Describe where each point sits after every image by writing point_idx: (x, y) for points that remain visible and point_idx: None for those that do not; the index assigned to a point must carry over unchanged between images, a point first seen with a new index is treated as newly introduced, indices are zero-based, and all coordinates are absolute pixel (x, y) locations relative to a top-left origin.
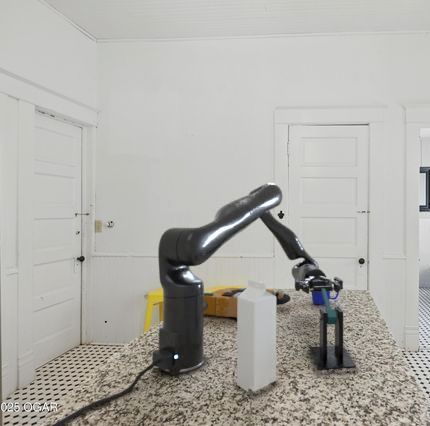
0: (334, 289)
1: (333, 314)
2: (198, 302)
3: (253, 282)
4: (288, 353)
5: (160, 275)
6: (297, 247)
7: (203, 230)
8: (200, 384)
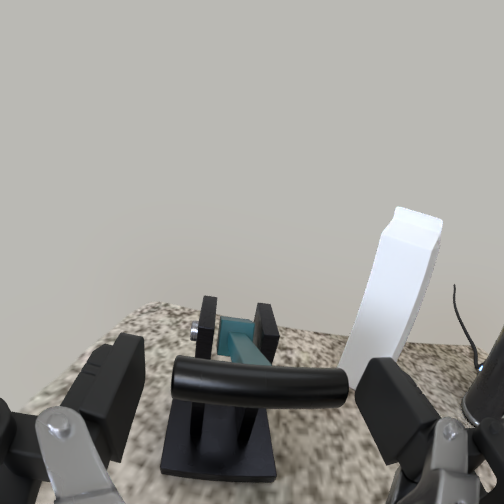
0: (127, 427)
1: (230, 318)
2: None
3: (428, 217)
4: (334, 476)
5: None
6: None
7: None
8: (430, 381)
